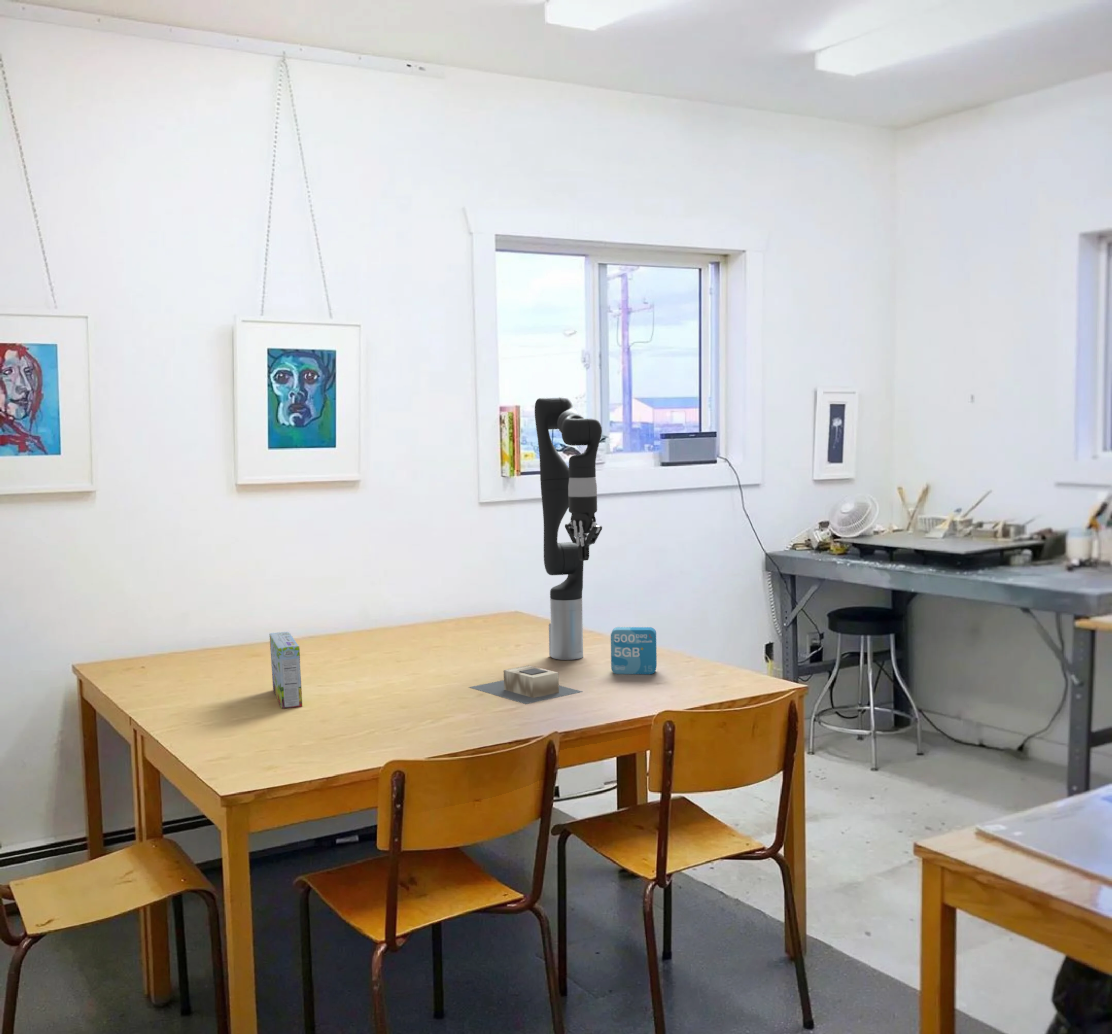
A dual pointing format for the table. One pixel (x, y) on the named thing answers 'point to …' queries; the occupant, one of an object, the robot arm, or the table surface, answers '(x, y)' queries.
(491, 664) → the table surface
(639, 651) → the data package
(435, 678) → the table surface
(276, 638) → the snack box
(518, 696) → the mat
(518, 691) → the ash block
